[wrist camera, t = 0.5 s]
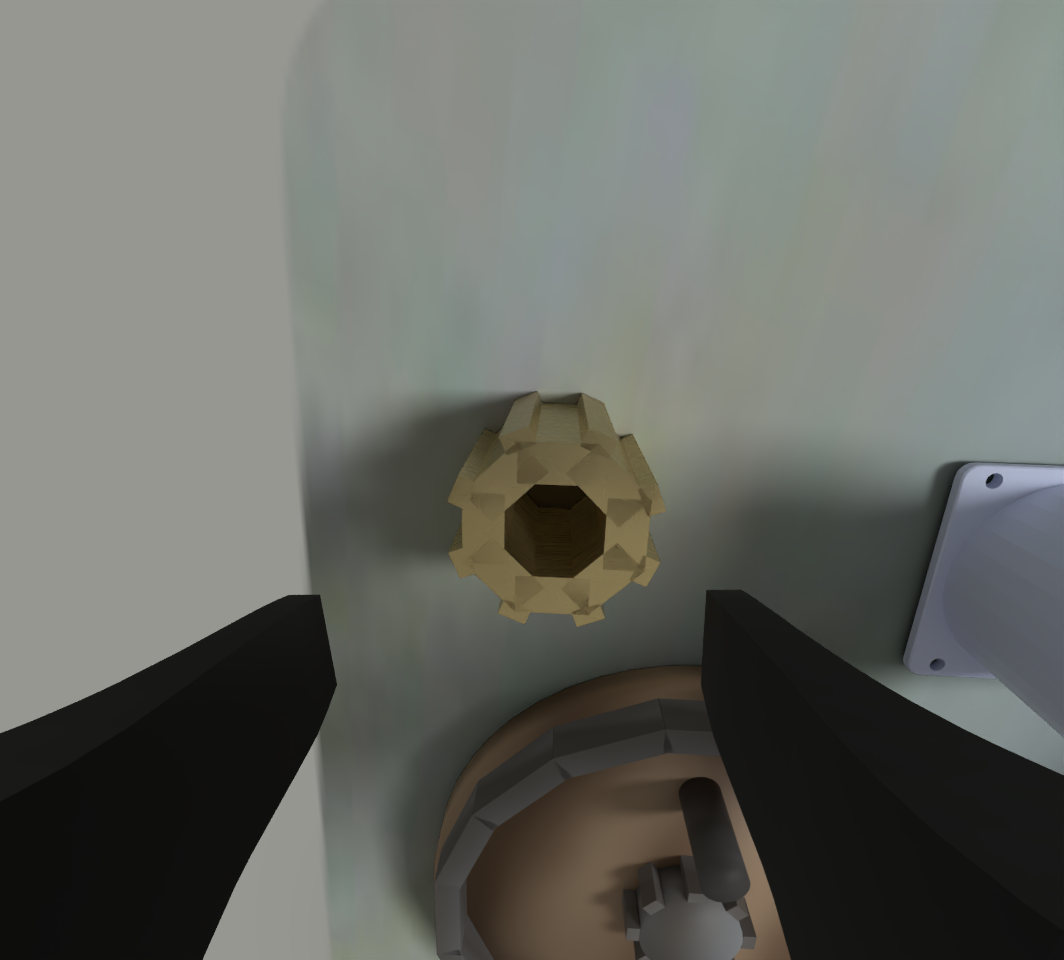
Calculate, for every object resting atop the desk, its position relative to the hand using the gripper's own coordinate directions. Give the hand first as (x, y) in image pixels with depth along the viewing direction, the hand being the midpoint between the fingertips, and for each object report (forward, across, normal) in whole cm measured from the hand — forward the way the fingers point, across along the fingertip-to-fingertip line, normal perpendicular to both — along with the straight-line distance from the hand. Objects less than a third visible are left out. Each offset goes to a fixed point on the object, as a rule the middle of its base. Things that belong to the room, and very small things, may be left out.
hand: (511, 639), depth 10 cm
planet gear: (+9, -1, 0) cm, 9 cm away
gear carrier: (+9, -5, +18) cm, 21 cm away
